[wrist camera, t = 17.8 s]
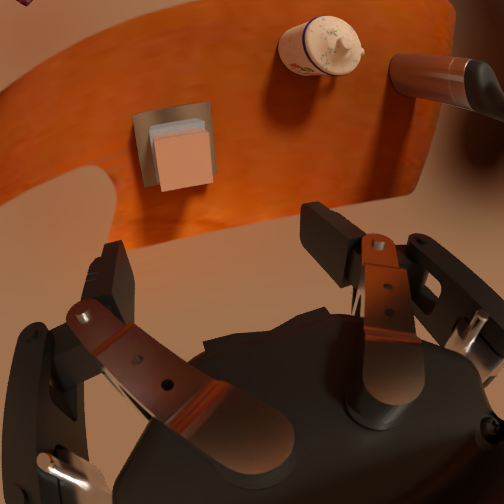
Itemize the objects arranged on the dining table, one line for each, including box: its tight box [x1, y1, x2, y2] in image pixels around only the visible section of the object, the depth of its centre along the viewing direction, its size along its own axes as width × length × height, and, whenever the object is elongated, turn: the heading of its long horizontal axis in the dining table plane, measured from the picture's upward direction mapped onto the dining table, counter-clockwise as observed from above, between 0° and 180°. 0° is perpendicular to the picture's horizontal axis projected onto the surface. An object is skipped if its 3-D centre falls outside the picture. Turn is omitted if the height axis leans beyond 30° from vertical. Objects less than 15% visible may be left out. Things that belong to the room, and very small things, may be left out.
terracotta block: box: [154, 127, 213, 192], centre depth 26 cm, size 5×5×5 cm
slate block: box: [149, 118, 205, 183], centre depth 30 cm, size 6×6×6 cm
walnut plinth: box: [132, 102, 217, 188], centre depth 34 cm, size 10×10×4 cm
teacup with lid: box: [278, 16, 364, 76], centre depth 30 cm, size 12×9×12 cm
